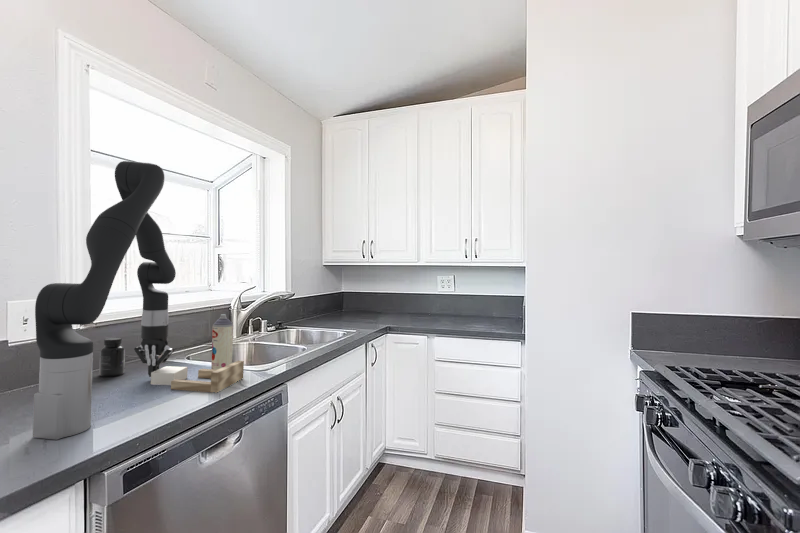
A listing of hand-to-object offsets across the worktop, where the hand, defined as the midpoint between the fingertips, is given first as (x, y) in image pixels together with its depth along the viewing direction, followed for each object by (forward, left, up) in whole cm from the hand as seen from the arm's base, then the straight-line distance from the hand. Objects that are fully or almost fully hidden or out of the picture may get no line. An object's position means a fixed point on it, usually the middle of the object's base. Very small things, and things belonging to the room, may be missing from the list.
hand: (153, 376), depth 131 cm
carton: (0, -6, -1) cm, 6 cm away
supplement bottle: (+2, +17, -1) cm, 17 cm away
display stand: (0, -20, -1) cm, 20 cm away
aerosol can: (+16, -14, -1) cm, 21 cm away
